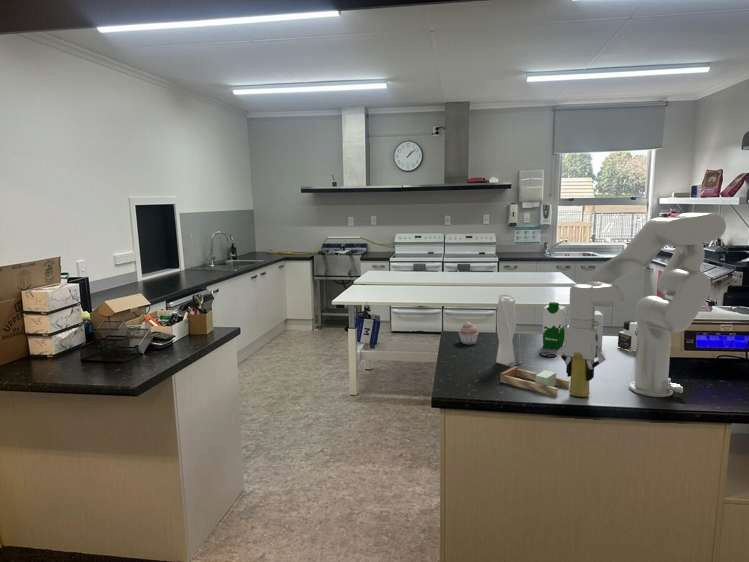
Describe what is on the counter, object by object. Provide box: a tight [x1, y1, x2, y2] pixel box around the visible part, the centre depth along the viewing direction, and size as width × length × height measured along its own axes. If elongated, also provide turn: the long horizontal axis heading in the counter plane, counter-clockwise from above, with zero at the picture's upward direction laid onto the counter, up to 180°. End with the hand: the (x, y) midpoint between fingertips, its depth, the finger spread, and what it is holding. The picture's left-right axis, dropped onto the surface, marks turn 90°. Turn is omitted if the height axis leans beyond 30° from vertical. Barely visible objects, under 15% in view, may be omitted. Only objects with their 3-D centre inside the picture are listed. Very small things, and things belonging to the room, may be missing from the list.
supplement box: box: [594, 310, 604, 349], centre depth 213 cm, size 9×9×15 cm
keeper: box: [534, 369, 557, 387], centre depth 165 cm, size 4×7×4 cm, turn 136°
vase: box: [568, 352, 591, 398], centre depth 157 cm, size 6×6×14 cm
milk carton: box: [542, 301, 567, 351], centre depth 212 cm, size 9×9×20 cm
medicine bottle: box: [617, 320, 637, 352], centre depth 208 cm, size 7×7×12 cm
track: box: [499, 365, 570, 397], centre depth 168 cm, size 20×10×3 cm, turn 46°
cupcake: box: [458, 321, 480, 345], centre depth 222 cm, size 9×9×10 cm
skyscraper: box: [495, 294, 522, 368], centre depth 190 cm, size 8×8×28 cm
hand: (579, 377), depth 157 cm, fingers closed on vase, 5 cm apart
